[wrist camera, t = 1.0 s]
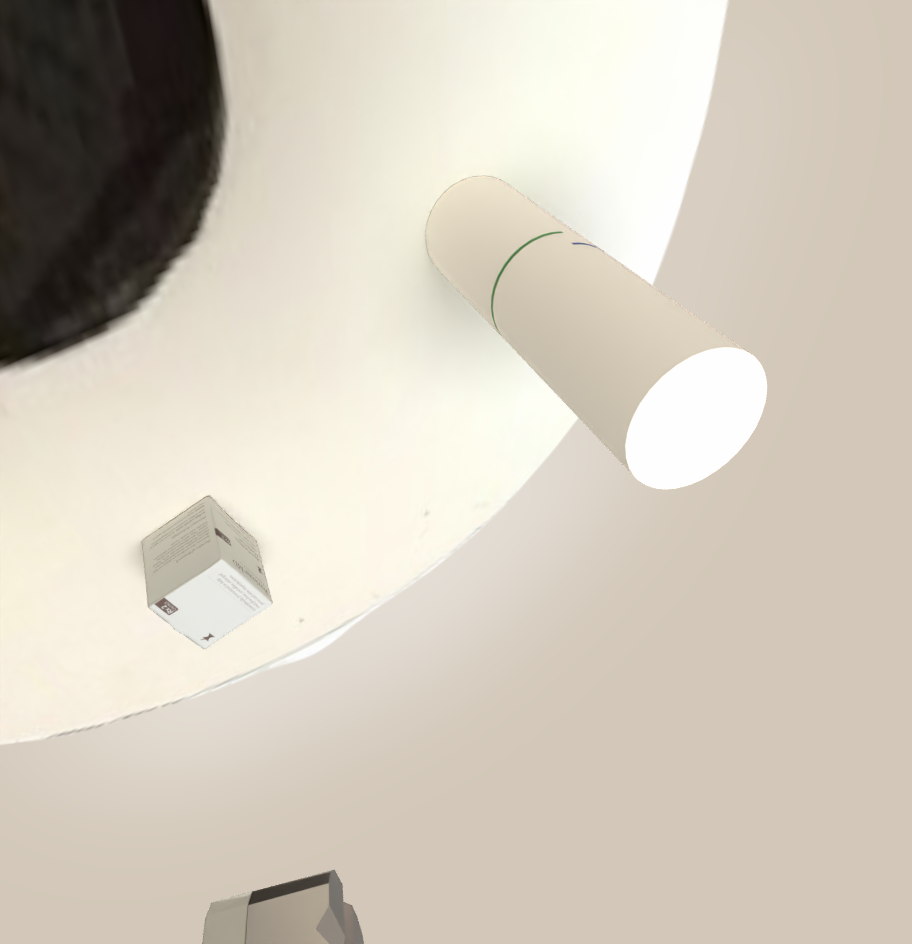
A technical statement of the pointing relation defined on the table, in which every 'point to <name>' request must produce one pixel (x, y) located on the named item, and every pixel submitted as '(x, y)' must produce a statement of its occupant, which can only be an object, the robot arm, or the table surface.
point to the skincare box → (204, 574)
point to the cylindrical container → (599, 335)
